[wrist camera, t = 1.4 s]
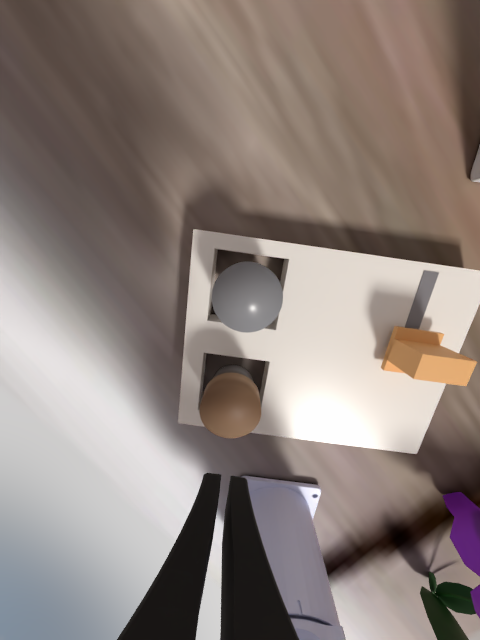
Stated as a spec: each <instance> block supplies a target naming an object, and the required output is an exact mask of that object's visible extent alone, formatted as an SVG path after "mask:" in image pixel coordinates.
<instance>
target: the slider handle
mask: <svg viewBox="0 0 480 640" xmlns="http://www.w3.org/2000/svg"><path fill="white" fill-rule="evenodd" d="M443 336H444V334H443V333H440V332H434V331H427V330H419V329H412V328H405V327H398V326H394V328H393V332H392V335H391V338H390V341H389V344H388V347H387V350H386V353H385V356H384V359H383V362H382V365H381V369H383V370H384V371H391V372H398V373H406V374H407V375H409V376H410V377H411V378H413V379H417V380H424V381H431V382H439V383H446V384H454V385H461V386H467V383H468V381H469V379H470V377H471V374H472V372H473V370H474V368H475V365H476V363H477V361H474V360H472V359H470V358H468V357H466V356H463V355H461V354H459V353H457V352H454V351H452V350H450V349H448V348H445V347H443V346H441V345H440V344H441V342H442V339H443Z"/></svg>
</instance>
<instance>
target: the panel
mask: <svg viewBox="0 0 480 640" xmlns="http://www.w3.org/2000/svg"><path fill="white" fill-rule="evenodd" d="M218 249H219V250H226V251H233V252H240V253H247V254H254V255H261V256H268V257H275V258H282V259H284V263H283V269H282V274H281V279H280V284H281V287H282V292H283V303H282V307H281V310H280V312H279V314H278V316H277V317H276V319H275V320H274V321H273V323H271V324H270V325H268V326H267V327H265V328H264V329H262V330H259V331H256V332H248V333H246V332H239V331H235V330H233V329H231V328H229V327H227V326H226V325H225V324H223V323H222V322H221V321H220V320H219V318H218V317H217V315H214V314H211V309H212V290H213V286H214V281H215V272H216V263H217V253H218ZM479 304H480V271H479V270H472V269H465V268H458V267H451V266H444V265H437V264H431V263H424V262H417V261H410V260H403V259H396V258H389V257H383V256H376V255H369V254H362V253H355V252H348V251H341V250H334V249H328V248H321V247H314V246H307V245H300V244H293V243H286V242H279V241H273V240H266V239H259V238H252V237H245V236H238V235H231V234H225V233H218V232H211V231H204V230H197V229H193V239H192V252H191V264H190V277H189V289H188V302H187V314H186V327H185V339H184V351H183V364H182V376H181V389H180V401H179V414H178V423H179V424H187V425H194V426H202V427H205V426H204V424H203V423H202V421H201V418H200V413H199V408H200V404H201V400H202V397H203V396H202V391H203V382H204V373H205V364H206V355H207V353H210V354H217V355H225V356H232V357H239V358H247V359H254V360H262V361H266V362H265V367H264V373H263V378H262V383H261V389H260V394H259V395H260V404H261V418H260V421H259V423H258V425H257V426H256V428H255V429H254V430H253V431H252V432H250V433H256V434H264V435H272V436H280V437H287V438H295V439H303V440H311V441H318V442H326V443H334V444H342V445H349V446H357V447H365V448H373V449H380V450H388V451H396V452H404V453H411V454H417V452H418V450H419V447H420V445H421V443H422V440H423V438H424V435H425V433H426V431H427V428H428V426H429V423H430V421H431V419H432V416H433V414H434V412H435V409H436V407H437V404H438V402H439V400H440V397H441V395H442V392H443V390H444V388H445V385H446V383H439V382H431V381H424V380H417V379H413V378H411V377H410V376H409V375H407V374H406V373H398V372H391V371H384V370H383V369H381V365H382V362H383V359H384V356H385V353H386V350H387V347H388V344H389V341H390V338H391V335H392V332H393V328H394V326H398V327H405V328H412V329H419V330H427V331H434V332H440V333H443V334H444V336H443V339H442V342H441V344H440V345H441V346H443V347H445V348H448V349H450V350H452V351H454V352H457V353H459V352H460V349H461V347H462V344H463V342H464V340H465V337H466V335H467V333H468V330H469V328H470V325H471V323H472V321H473V318H474V316H475V313H476V311H477V309H478V306H479Z"/></svg>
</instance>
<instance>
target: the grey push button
mask: <svg viewBox="0 0 480 640" xmlns="http://www.w3.org/2000/svg"><path fill="white" fill-rule="evenodd" d="M282 303H283V292H282V287H281V284H280V282H279V280H278V278H277V277H276V276H275V274H274V273H273V272H272V271H271V270H269V269H268V268H267V267H265V266H263V265H261V264H258V263H255V262H248V261H246V262H239V263H236V264H234V265H232V266H230V267H228V268H227V269H225V270H224V271H223V272H222V273H221V274H220V275H219V277H218V278H217V280H216V282H215V284H214V286H213V290H212V305H213V309H214V311H215V313H216V315H217V317H218V318H219V320H220V321H221V322H222V323H223V324H225V325H226V326H227V327H229V328H231V329H233V330H235V331H239V332H246V333H248V332H256V331H259V330H262V329H264V328H265V327H267V326H268V325H270V324H271V323H272V322H273V321H274V320H275V319H276V317H277V316H278V314H279V312H280V310H281V307H282Z"/></svg>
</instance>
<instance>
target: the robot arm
mask: <svg viewBox="0 0 480 640" xmlns="http://www.w3.org/2000/svg"><path fill="white" fill-rule="evenodd" d="M220 481H221V475H220V474H212V473H206V474H204V476H203V480H202V483H201V487H200V489H199V492H198V495H197V497H196V500H195V502H194V504H193V507H192V509H191V511H190V513H189V516H188V518H187V520H186V522H185V524H184V526H183V528H182V530H181V532H180V534H179V536H178V538H177V540H176V542H175V544H174V546H173V548H172V549H171V552H170V553H169V555H168V557H167V559H166V561H165V563H164V564H163V566H162V568H161V570H160V571H159V573H158V575H157V577H156V578H155V580H154V582H153V583H152V585H151V587H150V588H149V590H148V592H147V593H146V595H145V597H144V598H143V600H142V602H141V603H140V605H139V606H138V608H137V609H136V611H135V613H134V614H133V616H132V617H131V619H130V621H129V622H128V624H127V625H126V627H125V628H124V630H123V631H122V633H121V634H120V636H119V637H118V639H117V640H195V638H196V630H197V623H198V615H199V609H200V604H201V598H202V594H203V588H204V583H205V577H206V572H207V567H208V561H209V556H210V551H211V545H212V539H213V532H214V526H215V519H216V512H217V506H218V499H219V492H220ZM320 494H321V489H320V486H318V485H315V484H307V483H299V482H291V481H283V480H275V479H267V478H259V477H251V476H241V477H236V476H231V479H230V485H229V491H228V497H227V503H226V509H225V518H224V529H223V541H222V588H221V638H220V640H346V639H345V635H344V631H343V627H342V626H340V623H339V619H338V615H337V611H336V607H335V604H334V600H333V596H332V592H331V588H330V584H329V581H328V577H327V573H326V569H325V565H324V561H323V558H322V554H321V550H320V546H319V542H318V538H317V535H316V531H315V527H314V523H313V518H314V514H315V511H316V508H317V504H318V501H319V498H320Z"/></svg>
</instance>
